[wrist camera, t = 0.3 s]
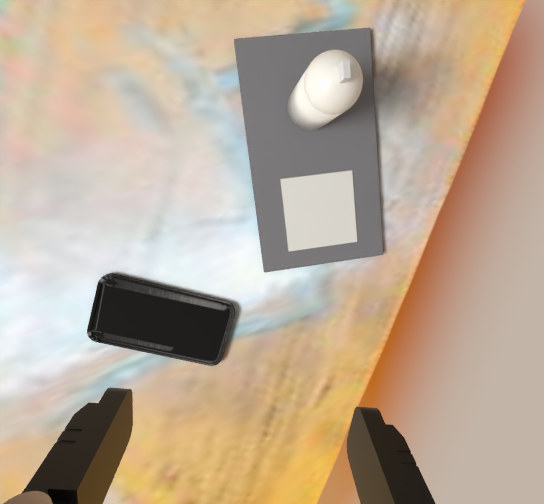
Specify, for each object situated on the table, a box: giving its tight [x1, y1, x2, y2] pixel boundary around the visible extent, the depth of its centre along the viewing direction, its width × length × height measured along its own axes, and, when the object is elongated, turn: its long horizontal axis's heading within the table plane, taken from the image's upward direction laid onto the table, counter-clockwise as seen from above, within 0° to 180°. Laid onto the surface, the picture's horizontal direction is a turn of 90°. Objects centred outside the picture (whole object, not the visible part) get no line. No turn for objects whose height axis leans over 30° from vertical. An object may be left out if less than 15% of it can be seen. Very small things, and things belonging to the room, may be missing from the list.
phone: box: [87, 273, 235, 366], centre depth 38 cm, size 8×1×15 cm
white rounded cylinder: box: [288, 50, 363, 131], centre depth 30 cm, size 5×5×12 cm
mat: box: [234, 28, 383, 272], centre depth 37 cm, size 24×14×1 cm, turn 7°
